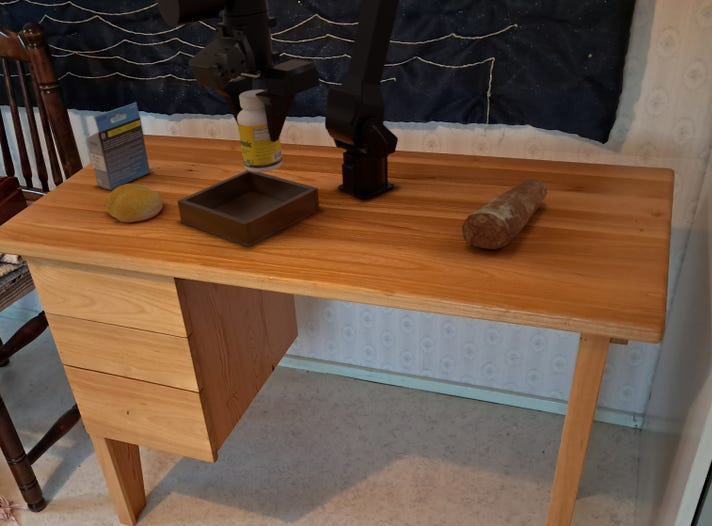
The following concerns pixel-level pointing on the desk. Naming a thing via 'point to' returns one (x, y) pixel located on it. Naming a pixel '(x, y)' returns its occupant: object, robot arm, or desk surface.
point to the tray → (249, 207)
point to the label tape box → (118, 148)
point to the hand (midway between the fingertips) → (259, 137)
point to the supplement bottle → (256, 135)
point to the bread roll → (133, 203)
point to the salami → (504, 216)
